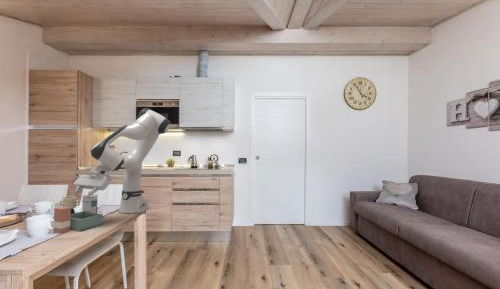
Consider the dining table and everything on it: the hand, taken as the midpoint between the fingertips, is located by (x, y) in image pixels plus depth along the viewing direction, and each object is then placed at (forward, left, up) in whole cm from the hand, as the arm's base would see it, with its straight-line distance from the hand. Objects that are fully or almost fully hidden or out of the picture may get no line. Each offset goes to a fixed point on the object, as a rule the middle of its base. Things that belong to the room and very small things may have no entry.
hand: (82, 194), depth 156 cm
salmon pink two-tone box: (+11, -1, -18) cm, 21 cm away
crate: (0, 0, -18) cm, 18 cm away
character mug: (-8, -19, -18) cm, 27 cm away
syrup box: (-14, -10, -18) cm, 25 cm away
